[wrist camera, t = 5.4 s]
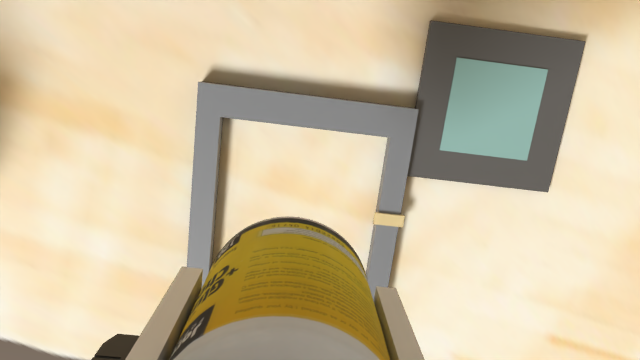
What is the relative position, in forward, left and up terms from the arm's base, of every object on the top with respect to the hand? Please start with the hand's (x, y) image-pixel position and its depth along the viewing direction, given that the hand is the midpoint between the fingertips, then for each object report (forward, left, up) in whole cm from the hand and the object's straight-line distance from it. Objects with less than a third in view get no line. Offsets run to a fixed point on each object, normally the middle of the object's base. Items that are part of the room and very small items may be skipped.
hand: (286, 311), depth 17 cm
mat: (-8, +12, -15) cm, 21 cm away
